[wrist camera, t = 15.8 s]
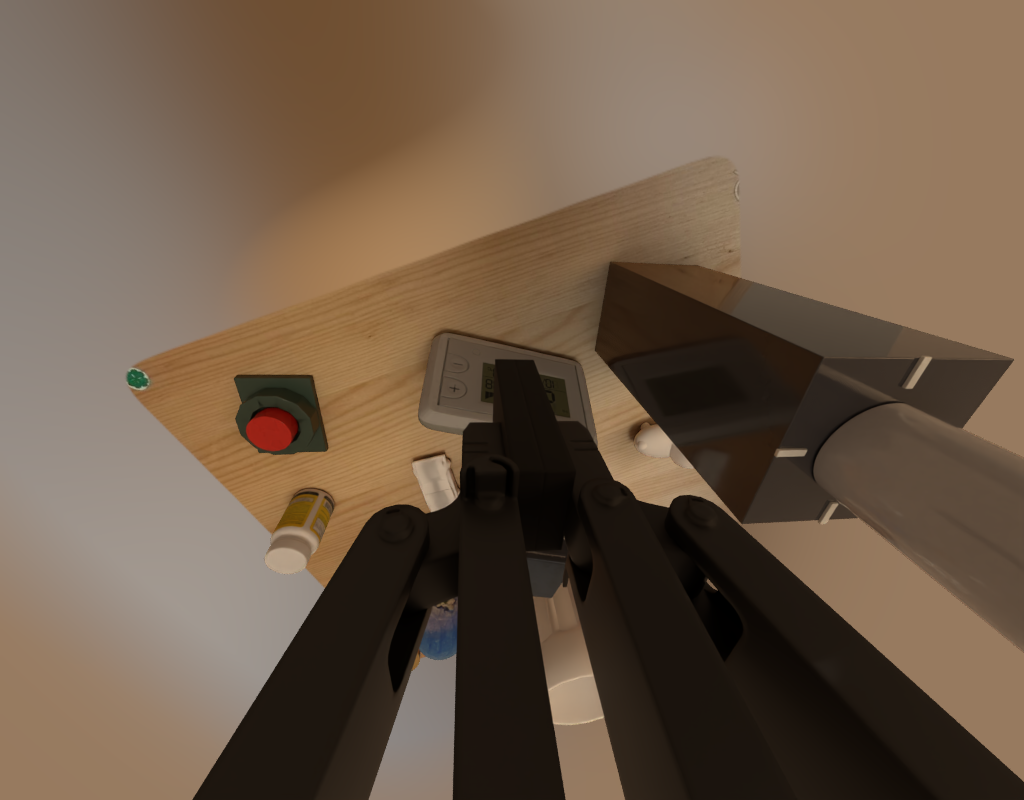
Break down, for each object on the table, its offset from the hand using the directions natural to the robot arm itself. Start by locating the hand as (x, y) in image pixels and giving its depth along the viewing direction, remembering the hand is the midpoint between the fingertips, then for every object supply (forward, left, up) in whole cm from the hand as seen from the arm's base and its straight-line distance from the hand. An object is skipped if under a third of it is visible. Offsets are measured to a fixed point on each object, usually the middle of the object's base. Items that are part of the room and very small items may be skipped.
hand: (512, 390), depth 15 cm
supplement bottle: (+27, -20, -23) cm, 41 cm away
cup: (+41, +11, -23) cm, 48 cm away
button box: (+14, -21, -23) cm, 34 cm away
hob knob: (+2, +16, +1) cm, 17 cm away
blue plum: (+45, -5, -23) cm, 51 cm away
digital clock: (+9, +2, -23) cm, 25 cm away
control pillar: (+2, +16, -23) cm, 28 cm away
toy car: (+24, -5, -23) cm, 34 cm away
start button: (+14, -21, -21) cm, 33 cm away
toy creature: (+17, +22, -23) cm, 36 cm away
